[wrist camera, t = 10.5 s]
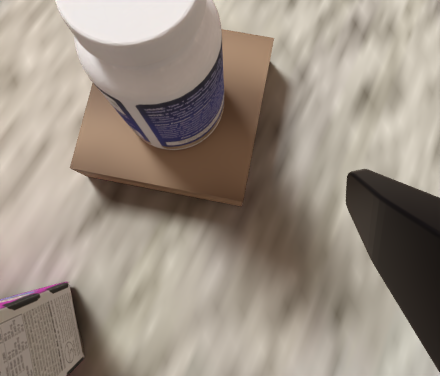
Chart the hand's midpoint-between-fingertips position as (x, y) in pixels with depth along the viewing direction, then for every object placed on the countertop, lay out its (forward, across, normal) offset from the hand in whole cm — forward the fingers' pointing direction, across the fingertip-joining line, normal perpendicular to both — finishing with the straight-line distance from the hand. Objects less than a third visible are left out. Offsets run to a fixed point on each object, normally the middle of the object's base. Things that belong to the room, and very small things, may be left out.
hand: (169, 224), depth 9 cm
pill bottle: (+13, 0, +2) cm, 13 cm away
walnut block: (+15, 0, +4) cm, 16 cm away
